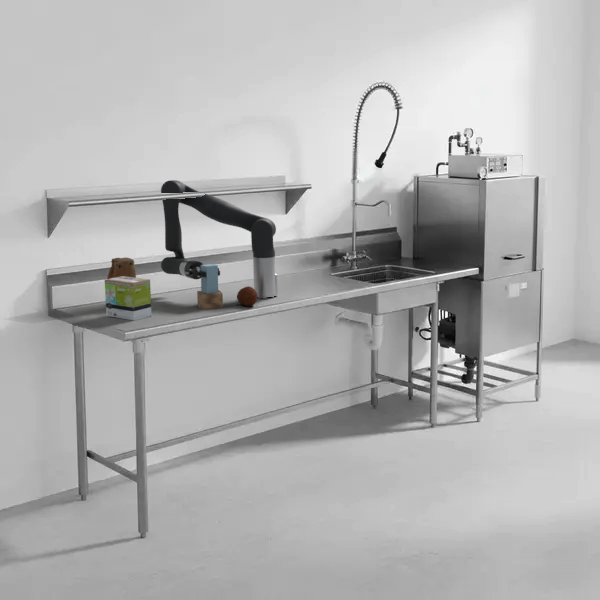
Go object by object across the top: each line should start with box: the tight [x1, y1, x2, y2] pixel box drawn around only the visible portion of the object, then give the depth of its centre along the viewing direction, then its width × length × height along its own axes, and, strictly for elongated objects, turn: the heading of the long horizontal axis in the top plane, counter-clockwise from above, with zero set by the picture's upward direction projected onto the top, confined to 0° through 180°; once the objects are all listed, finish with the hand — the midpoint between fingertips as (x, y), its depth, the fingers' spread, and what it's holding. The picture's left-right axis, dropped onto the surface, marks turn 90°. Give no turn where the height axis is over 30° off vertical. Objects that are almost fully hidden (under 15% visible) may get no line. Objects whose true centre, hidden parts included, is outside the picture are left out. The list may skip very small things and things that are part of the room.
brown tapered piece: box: [106, 257, 137, 279], centre depth 357 cm, size 11×8×20 cm
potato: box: [236, 285, 258, 307], centre depth 359 cm, size 8×12×8 cm, turn 34°
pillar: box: [200, 263, 219, 294], centre depth 357 cm, size 5×5×11 cm
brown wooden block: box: [196, 289, 224, 310], centre depth 359 cm, size 9×9×6 cm
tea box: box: [104, 276, 152, 321], centre depth 339 cm, size 15×10×15 cm, turn 56°
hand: (212, 273), depth 355 cm, fingers open, 5 cm apart
